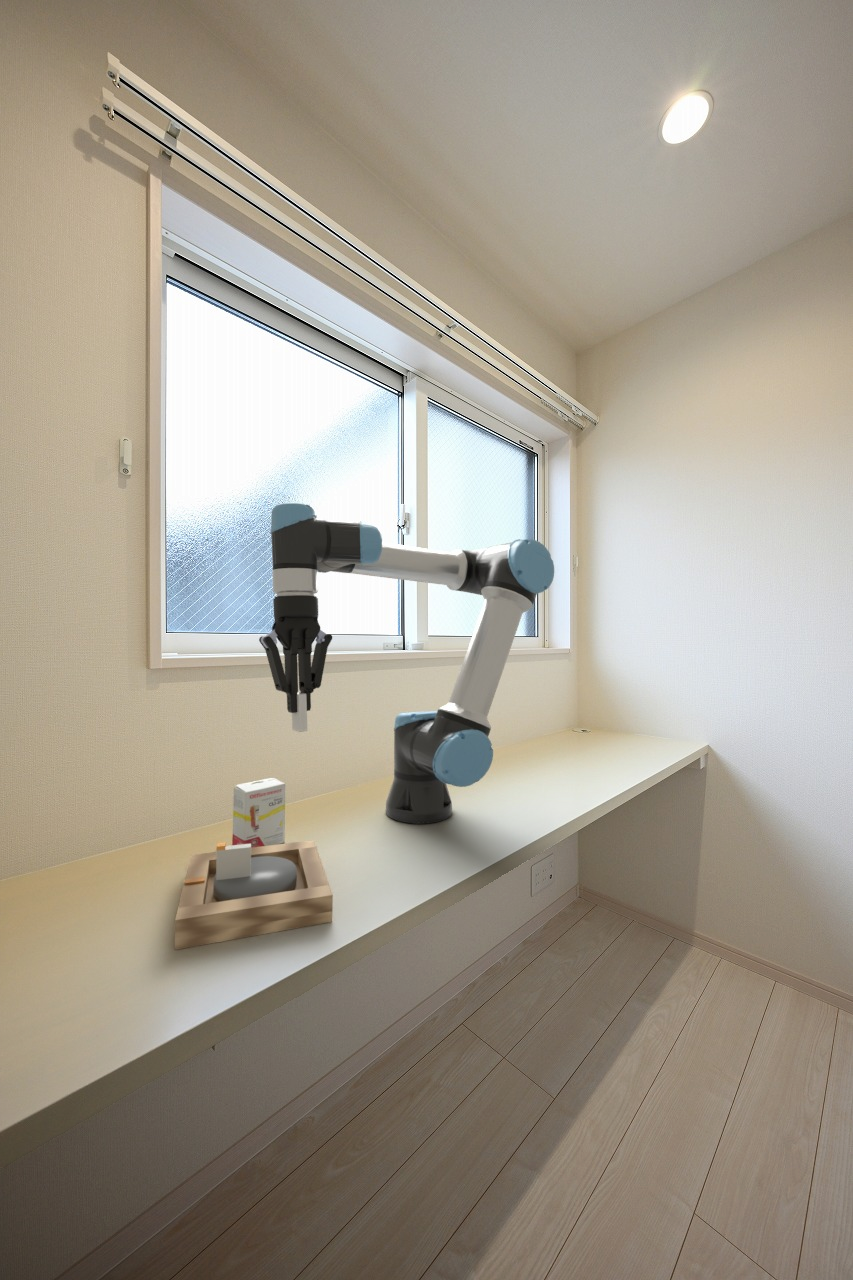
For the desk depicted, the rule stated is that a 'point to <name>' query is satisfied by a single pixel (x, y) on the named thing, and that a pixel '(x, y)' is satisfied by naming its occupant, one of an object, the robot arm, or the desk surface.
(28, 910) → the desk surface
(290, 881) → the dial
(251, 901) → the wooden tray
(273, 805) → the ink box
